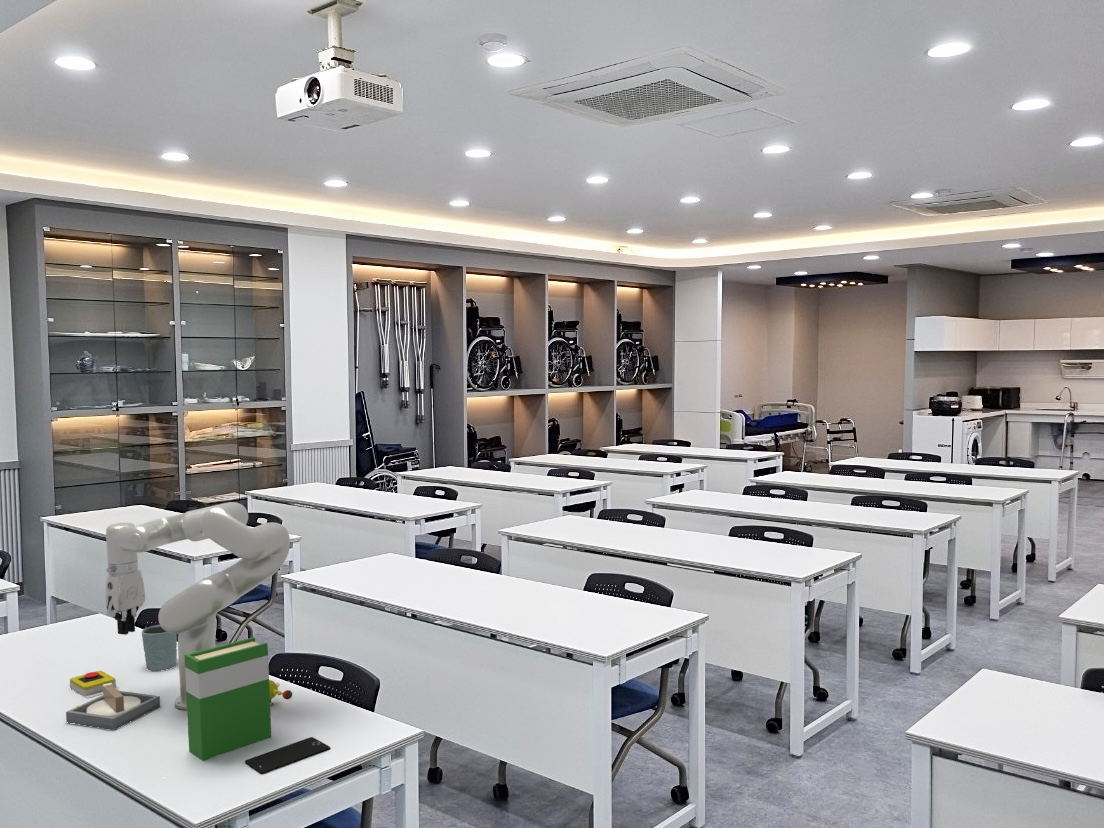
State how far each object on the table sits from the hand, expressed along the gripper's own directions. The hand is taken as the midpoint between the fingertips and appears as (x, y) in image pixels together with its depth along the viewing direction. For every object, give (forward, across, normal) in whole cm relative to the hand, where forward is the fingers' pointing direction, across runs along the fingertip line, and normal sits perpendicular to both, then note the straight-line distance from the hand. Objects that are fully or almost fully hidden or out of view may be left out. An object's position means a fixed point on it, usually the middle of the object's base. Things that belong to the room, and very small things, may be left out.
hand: (126, 632), depth 250 cm
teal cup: (+19, +24, +12) cm, 33 cm away
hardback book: (+19, -16, -48) cm, 54 cm away
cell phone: (+20, -17, -65) cm, 70 cm away
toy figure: (+19, +8, -40) cm, 46 cm away
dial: (+18, -10, -5) cm, 21 cm away
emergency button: (+20, +4, +17) cm, 27 cm away
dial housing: (+19, -10, -4) cm, 22 cm away
